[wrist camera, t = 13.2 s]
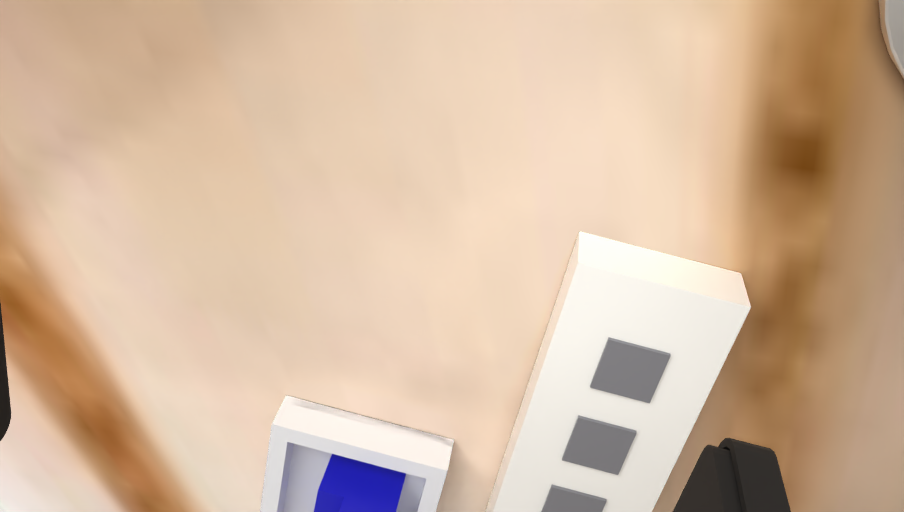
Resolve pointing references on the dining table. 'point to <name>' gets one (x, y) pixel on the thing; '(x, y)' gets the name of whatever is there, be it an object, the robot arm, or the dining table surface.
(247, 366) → the dining table surface
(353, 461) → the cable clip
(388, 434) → the cable tray
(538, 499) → the power strip
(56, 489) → the dining table surface
